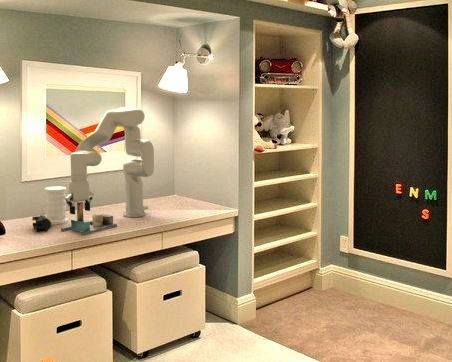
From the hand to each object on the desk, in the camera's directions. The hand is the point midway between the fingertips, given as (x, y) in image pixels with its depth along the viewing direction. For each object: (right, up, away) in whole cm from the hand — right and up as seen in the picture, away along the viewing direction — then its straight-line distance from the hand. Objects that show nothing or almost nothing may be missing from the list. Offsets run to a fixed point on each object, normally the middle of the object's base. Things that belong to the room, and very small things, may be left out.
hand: (80, 212), depth 276 cm
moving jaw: (0, -9, +1) cm, 9 cm away
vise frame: (+3, -8, +6) cm, 11 cm away
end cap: (-20, -9, +3) cm, 22 cm away
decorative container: (-18, -6, +20) cm, 28 cm away
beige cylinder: (+6, -8, +11) cm, 15 cm away
